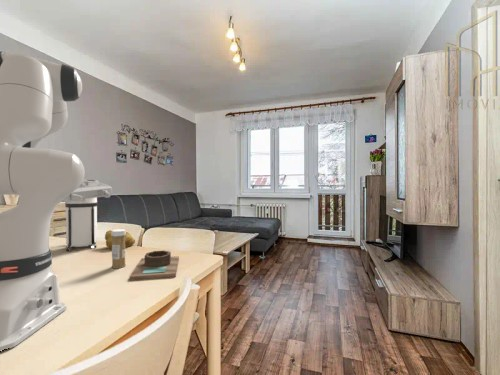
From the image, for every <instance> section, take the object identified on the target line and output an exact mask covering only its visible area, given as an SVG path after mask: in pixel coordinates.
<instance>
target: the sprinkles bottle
mask: <svg viewBox="0 0 500 375" xmlns="http://www.w3.org/2000/svg"><path fill="white" fill-rule="evenodd" d="M111 231H112V249H111V259H112V261H111V262H112V263H111V264H112V265H111V268H113V269H121V268H124V267H126V247H125V235H126V232H127V231H126V229H124V228H123V229H121V228H119V229H113V230H111Z"/></svg>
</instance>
